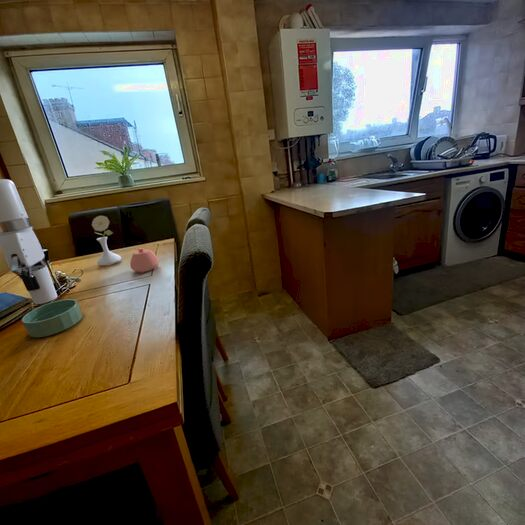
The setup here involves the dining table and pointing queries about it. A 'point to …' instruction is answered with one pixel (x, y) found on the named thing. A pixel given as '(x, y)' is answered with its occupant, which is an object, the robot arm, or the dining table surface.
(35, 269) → the white cup
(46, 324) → the teal pet bowl
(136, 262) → the sugar bowl
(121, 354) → the dining table surface
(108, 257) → the flower in vase
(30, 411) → the dining table surface
